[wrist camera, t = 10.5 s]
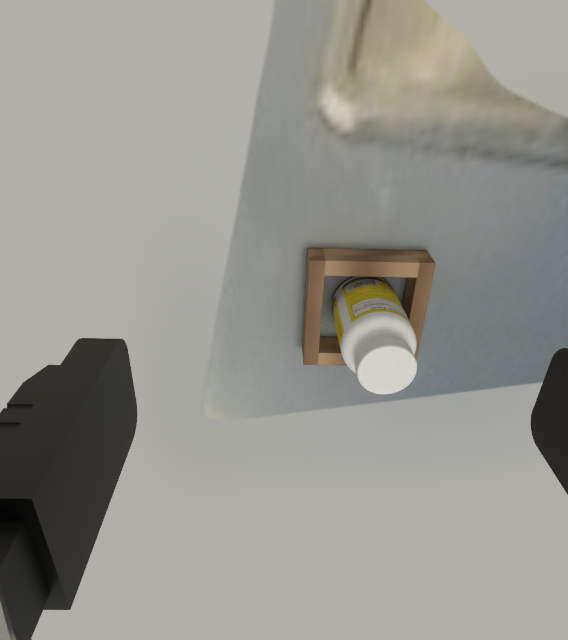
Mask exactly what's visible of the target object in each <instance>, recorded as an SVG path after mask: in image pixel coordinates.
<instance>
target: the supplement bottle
mask: <svg viewBox="0 0 568 640" xmlns="http://www.w3.org/2000/svg"><path fill="white" fill-rule="evenodd" d="M332 313H333V318H334V322H335V327H336V331H337V336H338V341H339V345H340V350H341V354H342V357H343V359H344V361H345V363H346V365H347V366H348V367H349V368H350V369H351V370H352V371H353V372H355V373H356V374H357V377H358V380H359V382H360V383H361V385H362V386H363V387H364V388H365V389H367V390H368V391H370V392H373V393H376V394H392V393H395V392H398V391H400V390H402V389H404V388H405V387H407V386H408V385H409V384H410V383H411V382H412V380H413V379H414V377H415V375H416V372H417V362H416V359H415V357H414V354H415V351H416V346H417V341H416V336H415V333H414V330H413V328H412V325H411V323H410V321H409V319H408V317H407V315H406V313H405V311H404V309H403V307H402V305H401V303H400V301H399V299H398V297H397V295H396V293H395V291H394V290H393V288H392V287H391V285H390V284H389V283H388V282H386V281H385V280H384V279H382V278H380V277H366V276H355V277H352V278H350V279H348V280H347V281H345V282H344V283H343V284H342V285H341V286H340V287H339V288H338V289H337V291H336V292H335V294H334V297H333V300H332Z"/></svg>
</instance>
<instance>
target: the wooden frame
mask: <svg viewBox="0 0 568 640" xmlns="http://www.w3.org/2000/svg"><path fill="white" fill-rule="evenodd" d="M435 264H436V263H435V262H434V260H433V259H432V257H431V256H430V254H429V253H428V252H427V251H421V250H377V249H332V248H308V253H307V271H306V289H305V307H304V326H303V344H302V351H303V365H346V363H345V361H344V359H343V357H342V354H341V350H340V345H339V341H338V337H320V329H321V316H322V303H323V290H324V276H366V277H407V281H406V287H405V292H404V298H403V304H402V307H403V309H404V311H405V313H406V315H407V317H408V319H409V321H410V323H411V325H412V328H413V330H414V333H415V336H416V341H417V346H416V351H415V354H414V357H415V359H417V354H418V349H419V344H420V339H421V334H422V329H423V324H424V319H425V314H426V309H427V304H428V299H429V294H430V289H431V284H432V279H433V274H434V269H435Z"/></svg>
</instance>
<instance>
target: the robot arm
mask: <svg viewBox="0 0 568 640" xmlns="http://www.w3.org/2000/svg"><path fill="white" fill-rule="evenodd" d="M136 423H137V404H136V397H135V391H134V386H133V379H132V373H131V367H130V361H129V355H128V349H127V345H126V343H125V341H124V340H123V339H95V338H81V339H79V340H77V342H76V343H75V344H74V346H73V347H72V349H71V350H70V352H69V353H68V355H67V356H66V358H65V359H64V361H63V362H62V363H61V365H48V366H46V367H45V368H43V369H42V370H41V371H39V372H38V373H36V374H35V375H34V376H32V377H31V378H29V379H28V380H26V381H25V382H23V384H22V385H21V386H20V388H19V389H18V390H17V392H16V393H15V394H14V396H13V397H12V398H11V400H10V401H9V402H8V403H7V408H4V409H3V410H2V411H1V413H0V640H31V637H32V635H33V632H34V630H35V628H36V625H37V623H38V620H39V618H40V616H41V613H42V611H43V610H70V609H71V606H72V603H73V601H74V598H75V595H76V593H77V590H78V587H79V584H80V582H81V579H82V576H83V573H84V570H85V568H86V565H87V563H88V560H89V557H90V555H91V552H92V549H93V546H94V544H95V541H96V538H97V536H98V533H99V530H100V528H101V525H102V522H103V519H104V517H105V514H106V511H107V509H108V506H109V503H110V500H111V498H112V495H113V492H114V489H115V487H116V484H117V481H118V479H119V476H120V473H121V471H122V468H123V465H124V462H125V460H126V457H127V454H128V452H129V449H130V446H131V444H132V441H133V438H134V434H135V429H136ZM531 430H532V435H533V439H534V441H535V444H536V445H537V447H538V449H539V450H540V452H541V453H542V455H543V456H544V458H545V460H546V461H547V463H548V464H549V466H550V467H551V469H552V471H553V472H554V474H555V475H556V477H557V478H558V480H559V482H560V483H561V485H562V486H563V488H564V489H565V491H566V493H567V494H568V348H562V349H560V350H558V351H557V352H556V353H555V354H554V356H553V358H552V360H551V362H550V365H549V368H548V370H547V373H546V376H545V379H544V381H543V384H542V387H541V389H540V392H539V395H538V398H537V401H536V403H535V406H534V408H533V411H532V415H531Z"/></svg>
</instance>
